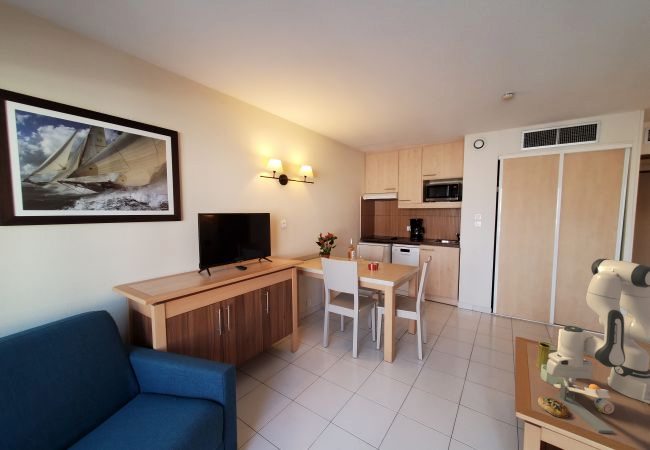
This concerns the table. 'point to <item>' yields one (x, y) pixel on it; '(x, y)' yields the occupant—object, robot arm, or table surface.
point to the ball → (594, 387)
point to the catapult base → (581, 410)
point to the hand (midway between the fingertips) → (568, 384)
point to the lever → (588, 391)
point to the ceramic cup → (551, 347)
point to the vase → (542, 355)
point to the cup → (550, 377)
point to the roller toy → (604, 405)
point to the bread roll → (553, 407)
